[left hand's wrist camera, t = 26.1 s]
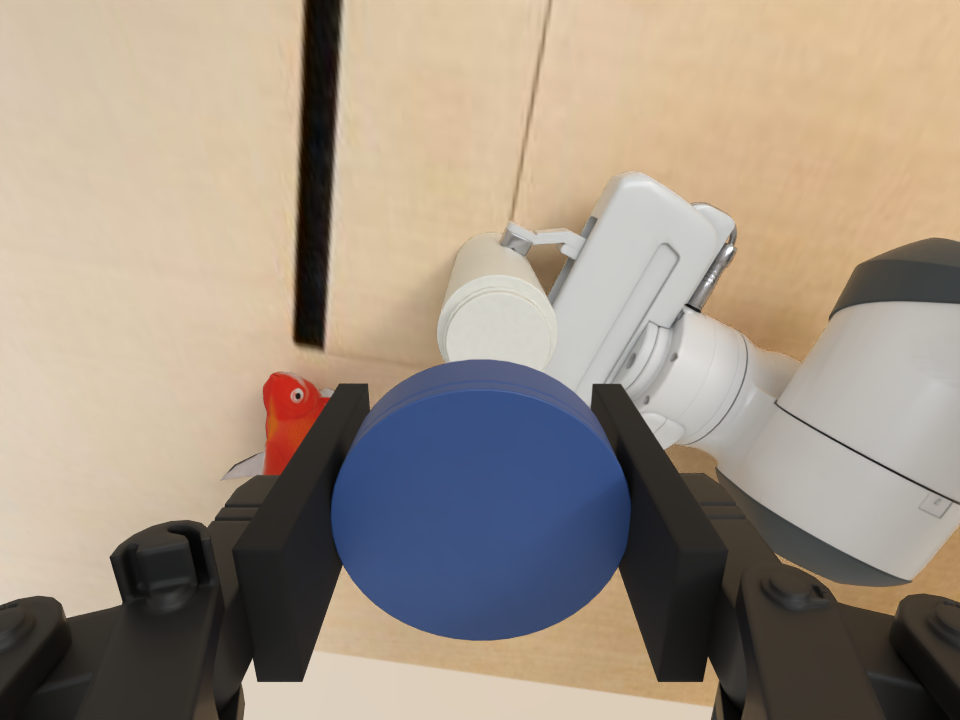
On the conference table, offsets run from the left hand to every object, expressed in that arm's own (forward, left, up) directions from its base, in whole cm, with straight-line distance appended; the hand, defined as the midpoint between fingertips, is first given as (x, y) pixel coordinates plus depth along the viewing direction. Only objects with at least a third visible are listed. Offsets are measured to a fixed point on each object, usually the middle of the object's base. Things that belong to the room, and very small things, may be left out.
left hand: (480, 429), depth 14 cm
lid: (0, 0, +4) cm, 4 cm away
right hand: (0, 0, -21) cm, 21 cm away
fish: (+1, -20, -27) cm, 34 cm away
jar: (+1, 0, -27) cm, 27 cm away
